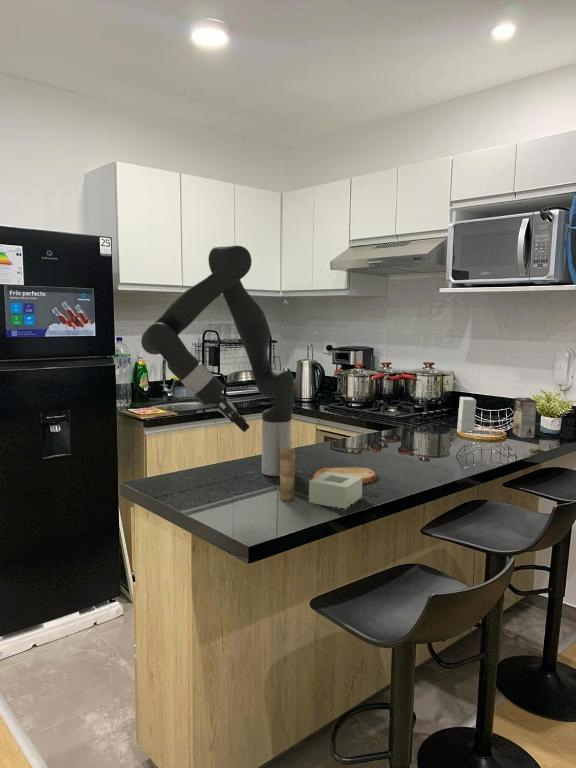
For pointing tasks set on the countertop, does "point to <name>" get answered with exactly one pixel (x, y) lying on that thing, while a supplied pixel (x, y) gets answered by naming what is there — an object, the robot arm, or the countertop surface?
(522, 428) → the coffee box
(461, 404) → the skincare box
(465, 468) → the countertop surface
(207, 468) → the countertop surface
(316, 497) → the holder
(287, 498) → the dowel
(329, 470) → the slice of bread
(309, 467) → the countertop surface
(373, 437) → the countertop surface
